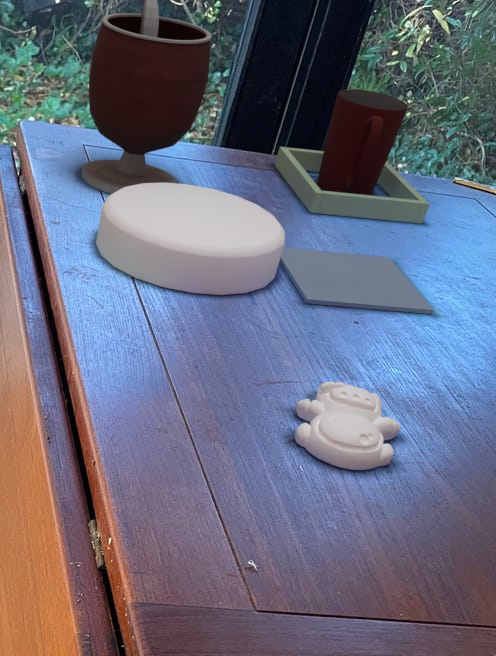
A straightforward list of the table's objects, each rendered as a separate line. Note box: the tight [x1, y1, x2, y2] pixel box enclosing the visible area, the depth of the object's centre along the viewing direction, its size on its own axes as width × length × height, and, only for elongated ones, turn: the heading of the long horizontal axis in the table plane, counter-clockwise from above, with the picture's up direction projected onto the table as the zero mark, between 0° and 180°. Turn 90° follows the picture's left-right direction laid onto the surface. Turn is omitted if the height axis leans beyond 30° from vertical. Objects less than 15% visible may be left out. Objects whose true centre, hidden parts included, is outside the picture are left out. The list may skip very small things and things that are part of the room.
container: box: [95, 183, 286, 296], centre depth 108 cm, size 20×20×5 cm
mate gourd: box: [81, 0, 213, 195], centre depth 120 cm, size 16×14×20 cm
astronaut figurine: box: [294, 381, 402, 471], centre depth 83 cm, size 9×12×3 cm
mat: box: [279, 247, 435, 315], centre depth 109 cm, size 14×14×1 cm
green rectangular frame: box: [274, 146, 431, 224], centre depth 132 cm, size 15×18×2 cm
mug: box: [316, 88, 409, 196], centre depth 129 cm, size 12×9×11 cm
